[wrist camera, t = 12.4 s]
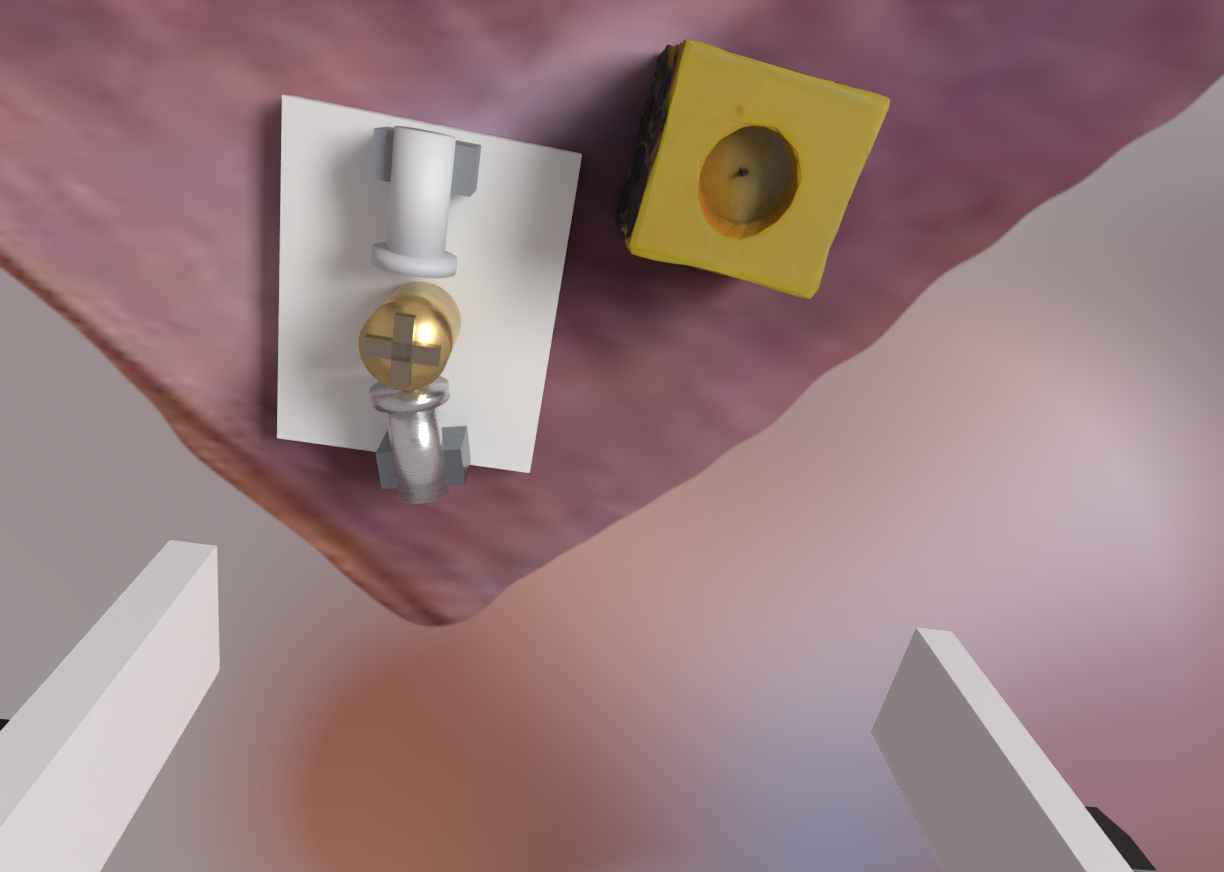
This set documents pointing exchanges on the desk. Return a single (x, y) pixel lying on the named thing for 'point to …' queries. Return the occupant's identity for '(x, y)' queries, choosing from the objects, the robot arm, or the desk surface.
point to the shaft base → (417, 269)
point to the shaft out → (419, 443)
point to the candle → (745, 167)
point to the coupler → (410, 336)
